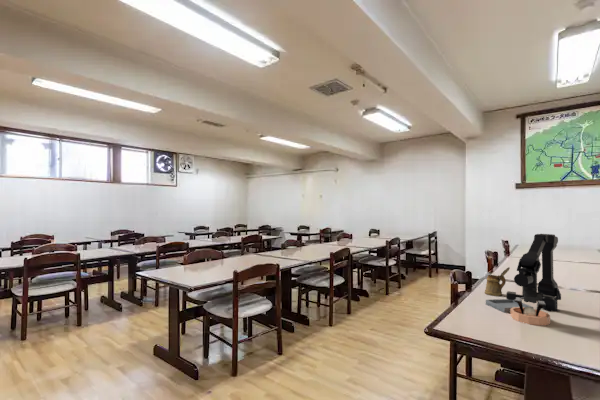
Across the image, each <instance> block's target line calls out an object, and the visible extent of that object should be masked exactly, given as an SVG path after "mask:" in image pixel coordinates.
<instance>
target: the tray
mask: <svg viewBox="0 0 600 400" xmlns="http://www.w3.org/2000/svg"><path fill="white" fill-rule="evenodd" d="M485 305H487V306H489V307H491V308H493V309H494V310H498V311H499V312H502V313H505V314H507V313H508V314H509V313H510V309H511V308H513V307H519V305H518V303H517V302H515V301H514V300H510V299H506V298H504V299H502V298H501V299H500V298H498V299H485ZM522 305H523V307H532V308H534V306H531V305H529V304H526V303H525V302H524V303H523V302H522Z"/></svg>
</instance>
